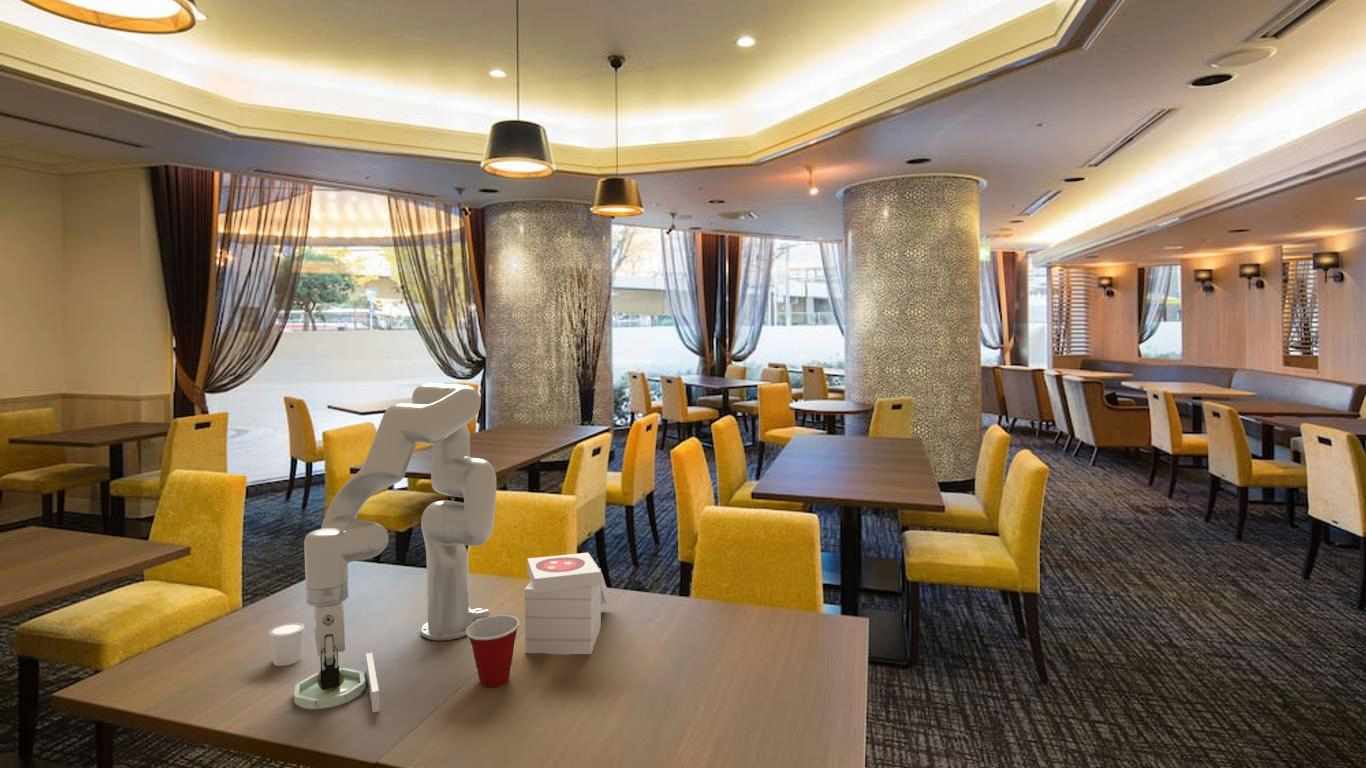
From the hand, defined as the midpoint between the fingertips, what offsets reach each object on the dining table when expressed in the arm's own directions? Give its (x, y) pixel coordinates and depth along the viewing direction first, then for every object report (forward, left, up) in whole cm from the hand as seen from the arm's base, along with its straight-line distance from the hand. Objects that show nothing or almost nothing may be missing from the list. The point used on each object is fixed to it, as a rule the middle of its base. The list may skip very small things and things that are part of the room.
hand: (330, 678), depth 139 cm
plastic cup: (-30, +10, -3) cm, 32 cm away
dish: (0, 0, -3) cm, 3 cm away
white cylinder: (+8, -20, -3) cm, 22 cm away
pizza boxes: (-52, -7, -3) cm, 52 cm away
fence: (-8, +3, -3) cm, 9 cm away
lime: (0, 0, -3) cm, 3 cm away
